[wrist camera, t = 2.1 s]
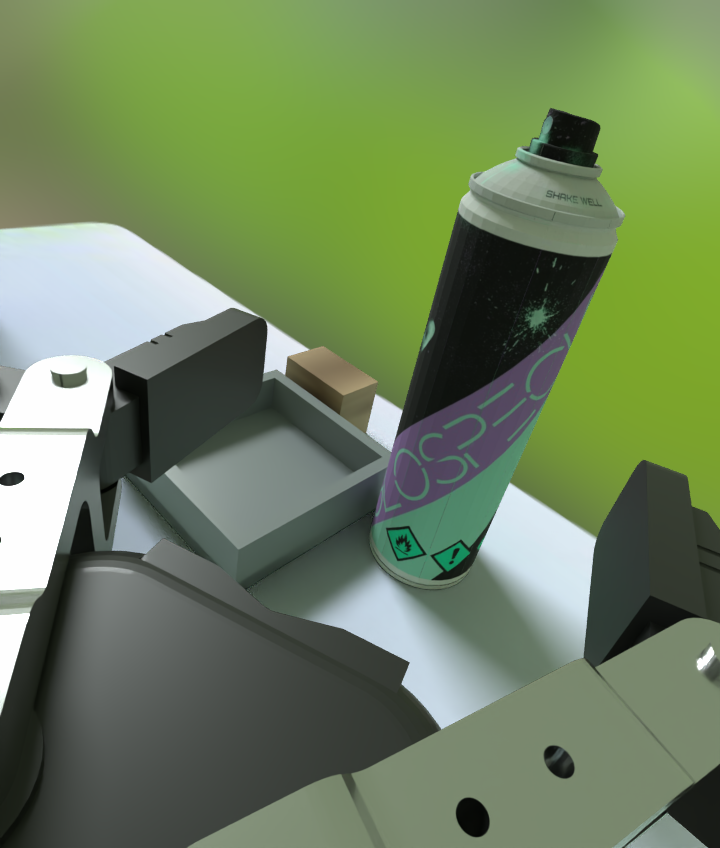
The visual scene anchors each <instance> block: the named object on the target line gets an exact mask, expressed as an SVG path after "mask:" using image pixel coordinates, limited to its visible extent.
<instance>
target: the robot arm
mask: <svg viewBox="0 0 720 848" xmlns="http://www.w3.org/2000/svg"><path fill="white" fill-rule="evenodd" d="M266 341H267V324H266V321H265V320H264V319H263V318H260V317H257V316H254V315H252V314H249V313H246V312H244V311H241V310H238V309H235V308H230V309H228V310H226V311H224V312H221V313H219V314H217V315H215V316H213V317H211V318H209V319H207V320H205V321H200V322H194V323H189V324H184V325H181V326H179V327H177V328H174V329H172V330H170V331H168V332H166V333H165V335H160V336H158V337H156V338H154V339H151V341H150V342H145V343H143V344H141V345H139V346H137V347H135V348H133V349H130V350H128V351H126V352H124V353H122V354H120V355H118V356H116V357H114V358H112V359H109V360H107V361H105V362H102V361H100V360H98V359H95V358H91V357H86V356H78V355H66V356H57V357H52V358H47V359H44V360H41V361H39V362H37V363H35V364H33V365H32V366H30V367H29V368H28V369H27V370H21V369H15V368H10V367H5V366H0V848H626V847H628V846H629V845H630V844H631V843H632V842H634V841H635V840H636V839H637V838H639V837H640V836H641V835H642V834H643V833H645V832H646V831H647V830H648V829H649V828H651V827H652V826H653V825H654V824H656V823H657V822H658V821H659V820H660V819H662V818H663V817H664V816H665V815H667V814H669V815H671V816H672V817H673V818H674V819H675V820H676V821H678V822H679V823H680V824H681V825H682V826H683V827H685V828H686V829H687V830H688V831H689V832H690V833H692V834H693V835H694V836H695V837H696V838H697V839H699V840H700V841H701V842H702V843H703V844H704V845H706V846H707V847H708V848H720V530H719V528H718V527H717V525H716V524H715V523H714V521H713V520H712V518H711V517H710V515H709V514H708V513H707V512H705V511H703V510H700V509H697V508H695V507H692V506H691V498H690V491H689V484H688V478H687V476H686V475H684V474H681V473H678V472H676V471H673V470H670V469H668V468H665V467H662V466H659V465H657V464H654V463H651V462H649V461H646V460H643V461H641V462H640V463H639V464H638V465H637V467H636V468H635V470H634V472H633V473H632V475H631V477H630V478H629V480H628V482H627V484H626V485H625V487H624V488H623V490H622V492H621V494H620V495H619V497H618V499H617V501H616V502H615V504H614V506H613V507H612V509H611V511H610V512H609V514H608V516H607V518H606V519H605V521H604V523H603V525H602V527H601V530H600V532H599V534H598V537H597V540H596V544H595V548H594V555H593V565H592V576H591V586H590V597H589V607H588V617H587V628H586V638H585V648H584V658H581V659H578V660H575V661H573V662H571V663H568V664H567V665H565V666H563V667H561V668H559V669H557V670H555V671H553V672H551V673H549V674H547V675H545V676H544V677H542V678H540V679H538V680H536V681H534V682H532V683H530V684H528V685H526V686H524V687H522V688H521V689H519V690H517V691H515V692H513V693H511V694H509V695H507V696H505V697H503V698H501V699H499V700H497V701H496V702H494V703H492V704H490V705H488V706H486V707H484V708H482V709H480V710H478V711H476V712H474V713H473V714H471V715H469V716H467V717H465V718H463V719H461V720H459V721H457V722H455V723H453V724H451V725H449V726H448V727H446V728H444V729H442V730H441V728H440V727H439V725H438V724H437V723H436V721H435V720H434V719H433V717H432V716H431V715H430V713H429V712H428V711H427V709H426V708H425V707H424V706H423V705H422V704H421V703H420V702H419V700H418V699H417V698H416V697H415V696H414V695H413V694H412V693H411V692H410V691H408V690H407V689H406V688H405V687H404V686H403V685H402V684H401V683H402V681H403V678H404V676H405V673H406V671H407V668H408V665H409V663H410V662H408V661H406V660H404V659H402V658H400V657H398V656H396V655H394V654H392V653H390V652H388V651H386V650H384V649H382V648H380V647H378V646H376V645H374V644H372V643H370V642H368V641H366V640H364V639H362V638H360V637H358V636H356V635H354V634H352V633H350V632H348V631H346V630H344V629H341V628H337V627H333V626H329V625H325V624H321V623H317V622H313V621H309V620H305V619H301V618H297V617H293V616H289V615H285V614H281V613H277V612H274V611H271V610H269V609H267V608H266V607H265V606H263V605H262V604H261V603H260V602H259V601H258V600H256V599H255V598H254V597H253V596H252V595H251V594H250V593H249V592H247V591H246V590H245V589H244V588H243V587H242V586H241V585H240V584H238V583H237V582H236V581H235V580H234V579H233V578H232V577H231V576H229V575H228V574H227V573H226V572H225V571H224V570H223V569H222V568H220V567H219V566H218V565H216V564H214V563H212V562H210V561H208V560H206V559H204V558H202V557H200V556H198V555H196V554H194V553H192V552H190V551H188V550H186V549H184V548H182V547H180V546H178V545H176V544H174V543H172V542H170V541H168V540H166V539H164V538H163V539H162V540H161V541H160V542H159V543H158V544H156V545H155V546H154V547H153V548H152V549H151V550H150V551H149V552H148V553H147V554H142V553H135V552H127V551H112V546H113V540H114V533H115V527H116V521H117V515H118V509H119V502H120V496H121V478H122V477H123V476H125V475H126V474H127V473H131V474H133V475H135V476H137V477H139V478H141V479H143V480H146V481H148V482H150V483H152V482H154V481H155V480H156V479H158V478H159V477H160V476H162V475H163V474H164V473H165V472H167V471H168V470H169V469H171V468H172V467H173V466H174V465H176V464H177V463H178V462H180V461H181V460H182V459H184V458H185V457H186V456H187V455H189V454H190V453H191V452H193V451H194V450H195V449H196V448H198V447H199V446H200V445H202V444H203V443H204V442H206V441H207V440H208V439H209V438H211V437H212V436H213V435H215V434H216V433H217V432H218V431H220V430H221V429H222V428H224V427H225V426H226V425H228V424H229V423H230V422H231V421H233V420H234V419H235V418H237V417H238V416H239V415H240V414H242V413H243V412H244V411H246V410H247V409H248V408H250V407H251V406H252V405H253V403H254V402H255V401H256V399H257V397H258V395H259V393H260V390H261V387H262V382H263V373H264V362H265V352H266Z"/></svg>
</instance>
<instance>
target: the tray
mask: <svg viewBox="0 0 720 848" xmlns="http://www.w3.org/2000/svg"><path fill="white" fill-rule="evenodd" d="M390 456H391V452H390V451H388V450H387V449H386V448H384V447H383V446H381V445H380V444H379V443H377V442H376V441H375V440H373V439H372V438H370V437H369V436H368V435H366V434H365V433H364V432H362V431H361V430H359V429H358V428H357V427H355V426H354V425H352V424H351V423H350V422H348V421H347V420H346V419H344V418H343V417H341V416H340V415H339V414H337V413H336V412H335V411H333V410H332V409H330V408H329V407H328V406H326V405H325V404H323V403H322V402H321V401H319V400H318V399H317V398H315V397H314V396H312V395H311V394H310V393H308V392H307V391H306V390H304V389H303V388H301V387H300V386H299V385H297V384H296V383H294V382H293V381H292V380H290V379H289V378H288V377H286V376H285V375H283V374H282V373H281V372H279V371H278V370H274V371H271V372H267V373H264V374H263V382H262V387H261V390H260V393H259V395H258V397H257V399H256V401H255V402H254V403H253V405H252V406H251V407H250V408H248V409H247V410H246V411H244V412H243V413H242V414H240V415H239V416H238V417H237V418H235V419H234V420H233V421H231V422H230V423H229V424H228V425H226V426H225V427H224V428H222V429H221V430H220V431H218V432H217V433H216V434H215V435H213V436H212V437H211V438H209V439H208V440H207V441H206V442H204V443H203V444H202V445H200V446H199V447H198V448H196V449H195V450H194V451H193V452H191V453H190V454H189V455H187V456H186V457H185V458H184V459H182V460H181V461H180V462H178V463H177V464H176V465H174V466H173V467H172V468H171V469H169V470H168V471H167V472H165V473H164V474H163V475H162V476H160V477H159V478H158V479H156V480H155V481H154V482H152V483H150V482H148V481H146V480H143V479H141V478H139V477H137V476H135V475H133V474H131V473H127V474H126V476H127V478H128V479H129V480H130V481H131V482H132V483H133V484H134V485H135V486H136V488H137V489H138V490H139V491H140V492H141V493H142V494H143V495H144V496H145V497H146V499H147V500H148V501H149V502H150V503H151V504H152V505H153V506H154V507H155V509H156V510H157V511H158V512H159V513H160V514H161V515H162V516H163V517H164V519H165V520H166V521H167V522H168V523H169V524H170V525H171V526H172V527H173V528H174V530H175V531H176V532H177V533H178V534H179V535H180V536H181V537H182V538H183V540H184V541H185V542H186V543H187V544H188V545H189V546H190V547H191V548H192V550H193V551H194V552H195V553H196V554H197V555H198V556H200V557H202V558H204V559H206V560H208V561H210V562H212V563H214V564H216V565H218V566H219V567H220V568H222V569H223V570H224V571H225V572H226V573H227V574H228V575H229V576H231V577H232V578H233V579H234V580H235V581H236V582H237V583H238V584H240V585H241V586H242V587H243V588H244V589H247V588H248V587H250V586H252V585H253V584H255V583H256V582H258V581H260V580H261V579H263V578H265V577H266V576H268V575H269V574H271V573H273V572H274V571H276V570H277V569H279V568H281V567H282V566H284V565H286V564H287V563H289V562H290V561H292V560H294V559H295V558H297V557H298V556H300V555H302V554H303V553H305V552H306V551H308V550H310V549H311V548H313V547H315V546H316V545H318V544H319V543H321V542H323V541H324V540H326V539H327V538H329V537H331V536H332V535H334V534H335V533H337V532H339V531H340V530H342V529H344V528H345V527H347V526H348V525H350V524H352V523H353V522H355V521H356V520H358V519H360V518H361V517H363V516H365V515H366V514H368V513H369V512H371V511H373V510H374V509H376V507H377V503H378V499H379V496H380V492H381V488H382V485H383V481H384V478H385V474H386V470H387V467H388V463H389V459H390Z"/></svg>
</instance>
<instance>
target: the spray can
mask: <svg viewBox="0 0 720 848" xmlns="http://www.w3.org/2000/svg"><path fill="white" fill-rule="evenodd" d="M599 131H600V125H599V124H598V123H596V122H594V121H592V120H589V119H586V118H582V117H579V116H575V115H572V114H569V113H567V112H564V111H560V110H556V109H552V108H550V110H549V112H548V115H547V118H546V119H545V120H544V123H543V126H542V130H541V133H540V136H539V138H532V140H531V143H530V147H527V146H522V147H519V148H518V149H517V151H516V155H515V156H516V157H517V158H516V159H513V160H510V161H507V162H504V163H502V164H500V165H497V166H495V167H493V168H491V169H490V170H487V171H485V172H477V173H474V174H472V175H471V177H470V181H469V187H470V191H469V192H468V193H467V194H466V195H465V196H464V197H463V198H462V199H461V202H460V205H459V209H458V213H457V217H456V220H455V224H454V227H453V231H452V235H451V238H450V242H449V245H448V249H447V253H446V256H445V260H444V263H443V267H442V271H441V274H440V278H439V282H438V285H437V289H436V293H435V296H434V300H433V303H432V307H431V311H430V314H429V318H428V322H427V325H426V329H425V332H424V336H423V340H422V343H421V347H420V351H419V355H418V358H417V362H416V365H415V369H414V372H413V376H412V380H411V383H410V387H409V390H408V394H407V398H406V401H405V405H404V409H403V412H402V416H401V419H400V423H399V427H398V430H397V434H396V438H395V441H394V445H393V449H392V452H391V456H390V459H389V463H388V467H387V470H386V474H385V478H384V481H383V485H382V488H381V492H380V496H379V499H378V503H377V507H376V510H375V514H374V517H373V521H372V525H371V530H370V536H369V542H370V548H371V551H372V553H373V556H374V557H375V559H376V560H377V562H378V563H379V565H380V566H381V567H382V568H383V569H384V570H385V571H386V572H387V573H389V574H390V575H391V576H393V577H394V578H396V579H398V580H399V581H401V582H403V583H405V584H408V585H411V586H414V587H417V588H422V589H443V588H448V587H451V586H453V585H456V584H457V583H459V582H460V581H462V580H463V579H464V577H465V576H466V575H467V574H468V572H469V570H470V569H471V566H472V564H473V562H474V560H475V558H476V555H477V553H478V551H479V549H480V547H481V544H482V542H483V540H484V538H485V535H486V533H487V531H488V529H489V526H490V524H491V522H492V520H493V518H494V515H495V513H496V511H497V509H498V506H499V504H500V502H501V500H502V497H503V495H504V493H505V491H506V489H507V486H508V484H509V482H510V480H511V477H512V475H513V473H514V471H515V468H516V466H517V464H518V462H519V460H520V457H521V455H522V453H523V450H524V448H525V446H526V444H527V442H528V440H529V437H530V435H531V433H532V431H533V428H534V426H535V424H536V422H537V419H538V417H539V415H540V413H541V410H542V408H543V406H544V404H545V401H546V399H547V397H548V395H549V393H550V390H551V388H552V386H553V384H554V382H555V379H556V377H557V375H558V373H559V370H560V368H561V366H562V364H563V361H564V359H565V357H566V355H567V353H568V350H569V348H570V346H571V344H572V341H573V339H574V337H575V335H576V332H577V330H578V328H579V326H580V324H581V321H582V319H583V317H584V315H585V312H586V310H587V308H588V306H589V304H590V301H591V299H592V297H593V295H594V292H595V290H596V288H597V286H598V283H599V281H600V279H601V277H602V275H603V272H604V270H605V268H606V266H607V263H608V261H609V259H610V257H611V254H612V252H613V250H614V248H615V245H616V243H617V241H618V239H617V235H616V228H617V227H619V226H621V224H622V222H623V220H624V217H625V214H624V212H623V211H622V210H620V209H619V208H618V207H616V206H615V205H614V203H613V201H612V199H611V198H610V196H609V195H608V193H607V192H606V190H605V189H604V187H603V186H602V185H601V183H600V182H599V181H598V180H597V179H596V178H597V177H599V176H600V174H601V172H602V168H601V167H600V166H599V165H597V164H595V162H596V160H597V157H598V154H596V153H594V152H593V149H594V146H595V143H596V140H597V137H598V134H599Z"/></svg>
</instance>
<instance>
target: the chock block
mask: <svg viewBox="0 0 720 848" xmlns="http://www.w3.org/2000/svg"><path fill="white" fill-rule="evenodd" d="M285 376H286V377H288V378H289V379H290V380H292V381H293V382H294V383H296V384H297V385H299V386H300V387H301V388H303V389H304V390H306V391H307V392H308V393H310V394H311V395H312V396H314V397H315V398H317V399H318V400H319V401H321V402H322V403H323V404H325V405H326V406H328V407H329V408H330V409H332V410H333V411H335V412H336V413H337V414H339V415H340V416H341V417H343V418H344V419H346V420H347V421H348V422H350V423H351V424H352V425H354V426H355V427H357V428H358V429H359V430H361V431H362V432H364V433H366V431H367V426H368V422H369V418H370V414H371V410H372V405H373V401H374V397H375V393H376V389H377V384H378V382H377V381H376V380H374V379H373V378H371V377H370V376H368V375H366V374H365V373H363V372H362V371H360V370H359V369H357V368H356V367H354V366H353V365H351V364H350V363H348V362H346V361H345V360H343V359H342V358H340V357H339V356H337V355H336V354H334V353H333V352H331V351H329V350H328V349H327V348H325V347H323V346H322V347H319V348H315V349H312V350H308V351H305V352H302V353H298V354H295V355H291V356H288V358H287V366H286V374H285Z"/></svg>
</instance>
